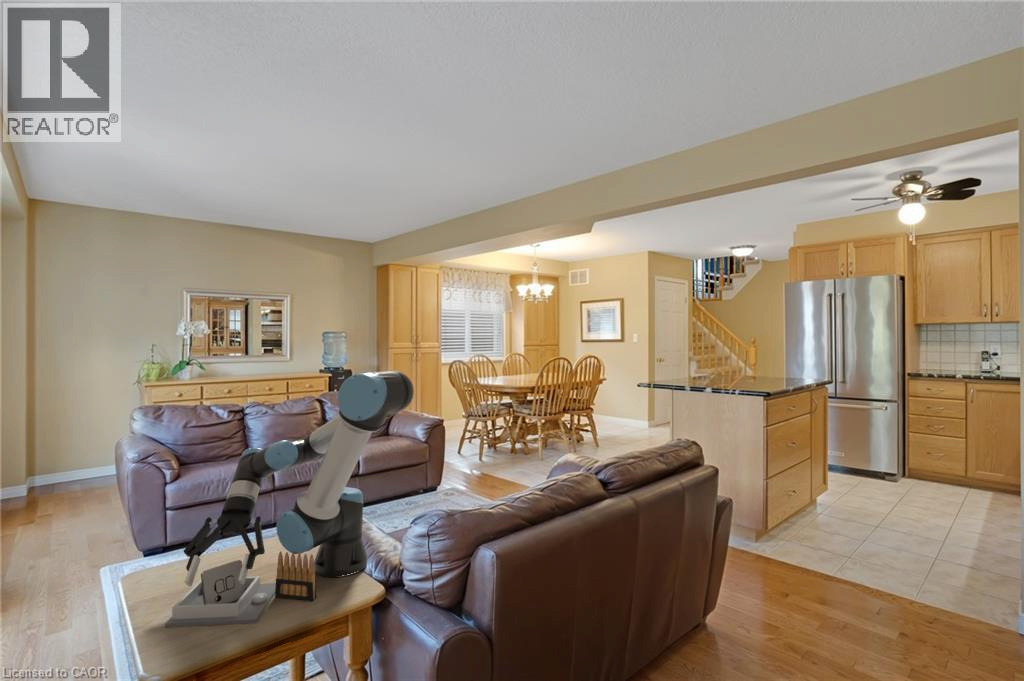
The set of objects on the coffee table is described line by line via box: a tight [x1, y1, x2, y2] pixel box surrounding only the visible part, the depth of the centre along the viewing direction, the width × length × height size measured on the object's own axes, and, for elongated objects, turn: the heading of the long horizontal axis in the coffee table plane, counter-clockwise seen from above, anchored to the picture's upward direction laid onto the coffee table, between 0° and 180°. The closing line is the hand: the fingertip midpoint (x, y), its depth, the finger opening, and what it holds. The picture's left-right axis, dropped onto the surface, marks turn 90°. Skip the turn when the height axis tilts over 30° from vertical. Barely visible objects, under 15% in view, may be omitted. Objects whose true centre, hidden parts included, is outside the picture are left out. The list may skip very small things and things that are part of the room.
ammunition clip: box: [274, 551, 317, 603], centre depth 131 cm, size 11×2×12 cm, turn 82°
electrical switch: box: [200, 559, 245, 605], centre depth 127 cm, size 9×5×9 cm, turn 144°
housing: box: [164, 575, 276, 628], centre depth 127 cm, size 20×18×4 cm
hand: (214, 583), depth 124 cm, fingers open, 11 cm apart
